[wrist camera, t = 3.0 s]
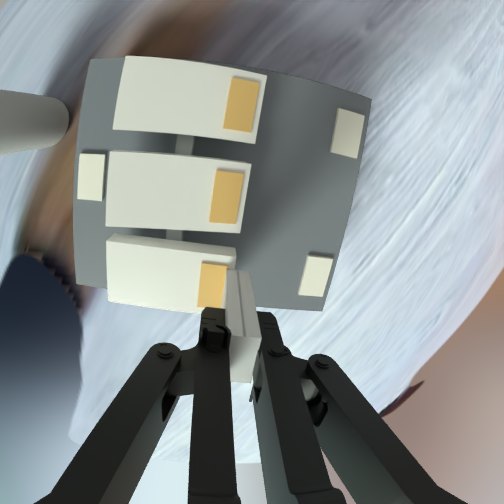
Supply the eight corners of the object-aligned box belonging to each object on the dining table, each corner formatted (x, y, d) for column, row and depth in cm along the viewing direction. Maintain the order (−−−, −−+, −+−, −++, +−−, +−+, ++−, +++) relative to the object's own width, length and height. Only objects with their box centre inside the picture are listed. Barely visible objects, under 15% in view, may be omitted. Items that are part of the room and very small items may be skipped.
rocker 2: (109, 218, 17) (105, 227, 15) (113, 149, 15) (109, 151, 14) (233, 225, 20) (240, 234, 18) (243, 161, 18) (252, 164, 17)
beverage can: (38, 97, 20) (-46, 89, 9) (77, 99, 21) (-5, 85, 10) (28, 145, 21) (-57, 160, 10) (66, 150, 22) (-19, 166, 11)
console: (100, 255, 26) (69, 292, 19) (116, 72, 20) (83, 52, 14) (303, 279, 29) (327, 320, 23) (340, 104, 24) (381, 95, 17)
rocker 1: (116, 129, 15) (112, 129, 13) (128, 62, 14) (125, 54, 12) (246, 142, 18) (255, 144, 16) (258, 79, 16) (268, 75, 15)
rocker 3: (115, 289, 19) (107, 302, 18) (114, 232, 18) (105, 241, 16) (226, 304, 21) (227, 318, 19) (235, 247, 19) (236, 258, 18)
